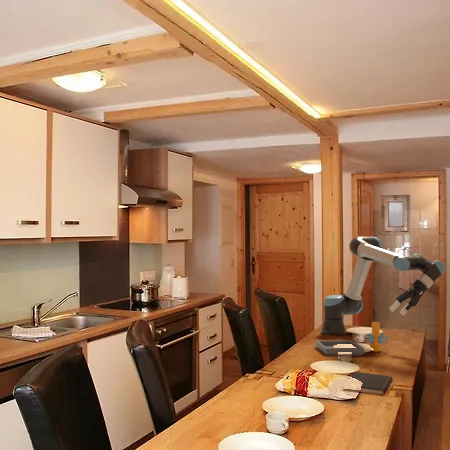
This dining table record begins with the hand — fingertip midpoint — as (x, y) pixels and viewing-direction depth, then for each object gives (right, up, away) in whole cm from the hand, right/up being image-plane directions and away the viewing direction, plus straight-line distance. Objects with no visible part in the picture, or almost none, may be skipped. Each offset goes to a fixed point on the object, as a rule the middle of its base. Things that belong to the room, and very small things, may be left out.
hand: (395, 312), depth 282 cm
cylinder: (-11, -21, -1) cm, 23 cm away
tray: (-31, -20, -3) cm, 37 cm away
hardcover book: (-33, -20, -66) cm, 76 cm away
